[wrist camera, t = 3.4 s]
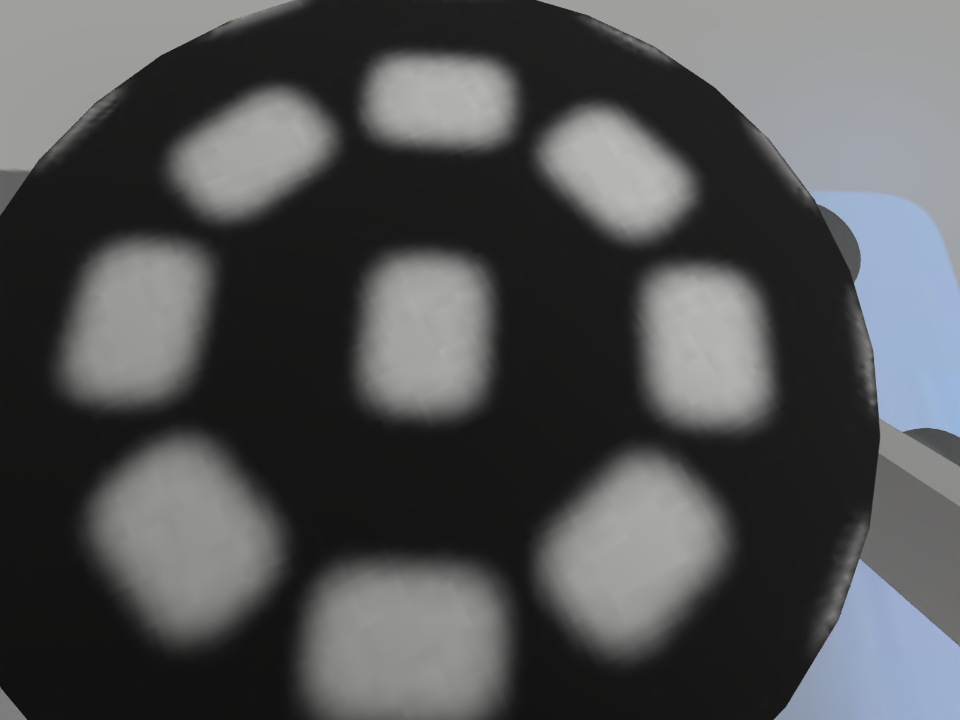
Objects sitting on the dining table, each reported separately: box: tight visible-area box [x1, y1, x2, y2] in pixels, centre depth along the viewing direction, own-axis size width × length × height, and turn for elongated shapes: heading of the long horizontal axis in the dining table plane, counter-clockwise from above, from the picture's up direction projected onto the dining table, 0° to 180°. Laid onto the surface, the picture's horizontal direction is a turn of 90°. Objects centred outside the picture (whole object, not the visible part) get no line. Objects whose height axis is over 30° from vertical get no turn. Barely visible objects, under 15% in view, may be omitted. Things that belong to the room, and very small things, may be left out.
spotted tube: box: [0, 0, 880, 720], centre depth 15 cm, size 8×8×20 cm
